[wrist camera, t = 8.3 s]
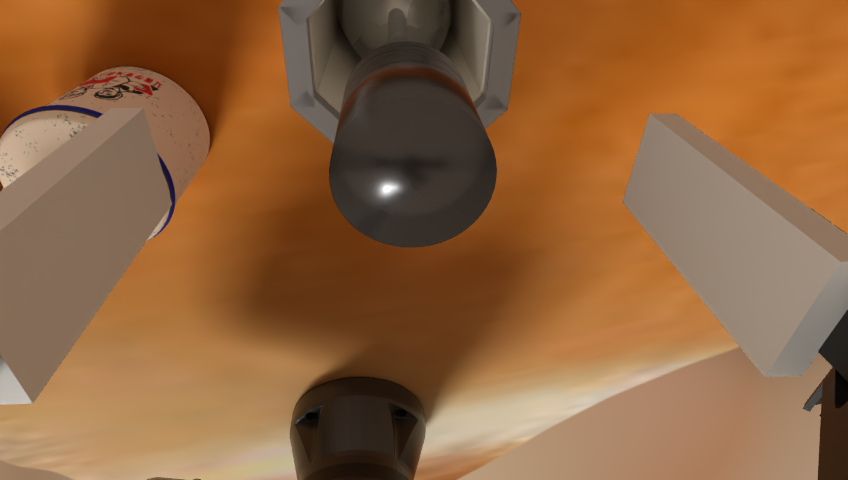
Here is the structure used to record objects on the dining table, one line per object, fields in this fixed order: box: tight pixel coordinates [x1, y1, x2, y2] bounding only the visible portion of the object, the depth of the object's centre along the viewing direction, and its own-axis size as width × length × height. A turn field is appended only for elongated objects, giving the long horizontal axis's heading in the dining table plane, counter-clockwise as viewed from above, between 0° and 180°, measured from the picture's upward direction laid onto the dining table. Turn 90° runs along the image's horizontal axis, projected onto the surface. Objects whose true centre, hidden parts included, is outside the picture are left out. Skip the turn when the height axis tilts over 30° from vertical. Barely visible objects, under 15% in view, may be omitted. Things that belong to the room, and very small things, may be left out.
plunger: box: [329, 0, 497, 247], centre depth 20 cm, size 6×6×20 cm
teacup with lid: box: [0, 66, 210, 240], centre depth 30 cm, size 12×9×12 cm
